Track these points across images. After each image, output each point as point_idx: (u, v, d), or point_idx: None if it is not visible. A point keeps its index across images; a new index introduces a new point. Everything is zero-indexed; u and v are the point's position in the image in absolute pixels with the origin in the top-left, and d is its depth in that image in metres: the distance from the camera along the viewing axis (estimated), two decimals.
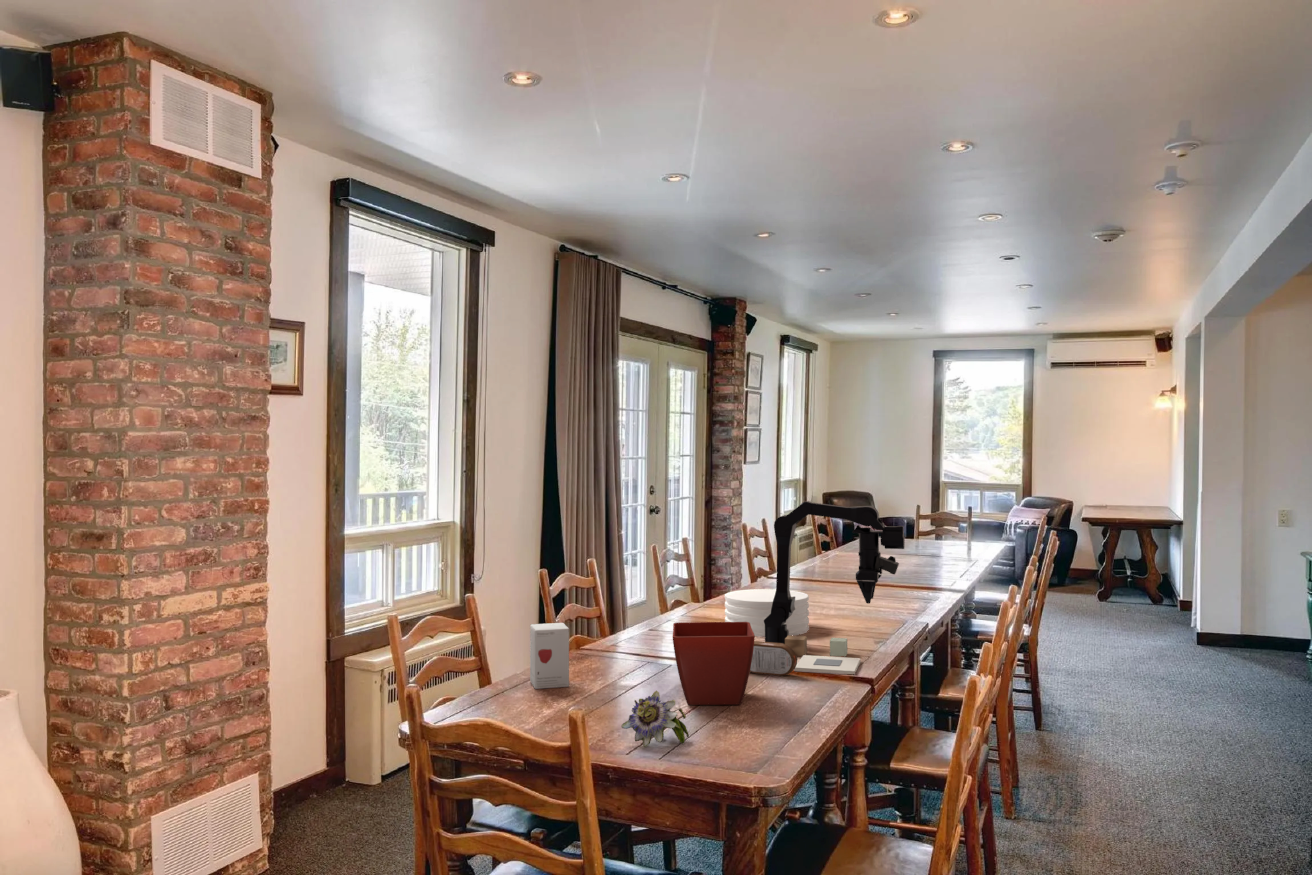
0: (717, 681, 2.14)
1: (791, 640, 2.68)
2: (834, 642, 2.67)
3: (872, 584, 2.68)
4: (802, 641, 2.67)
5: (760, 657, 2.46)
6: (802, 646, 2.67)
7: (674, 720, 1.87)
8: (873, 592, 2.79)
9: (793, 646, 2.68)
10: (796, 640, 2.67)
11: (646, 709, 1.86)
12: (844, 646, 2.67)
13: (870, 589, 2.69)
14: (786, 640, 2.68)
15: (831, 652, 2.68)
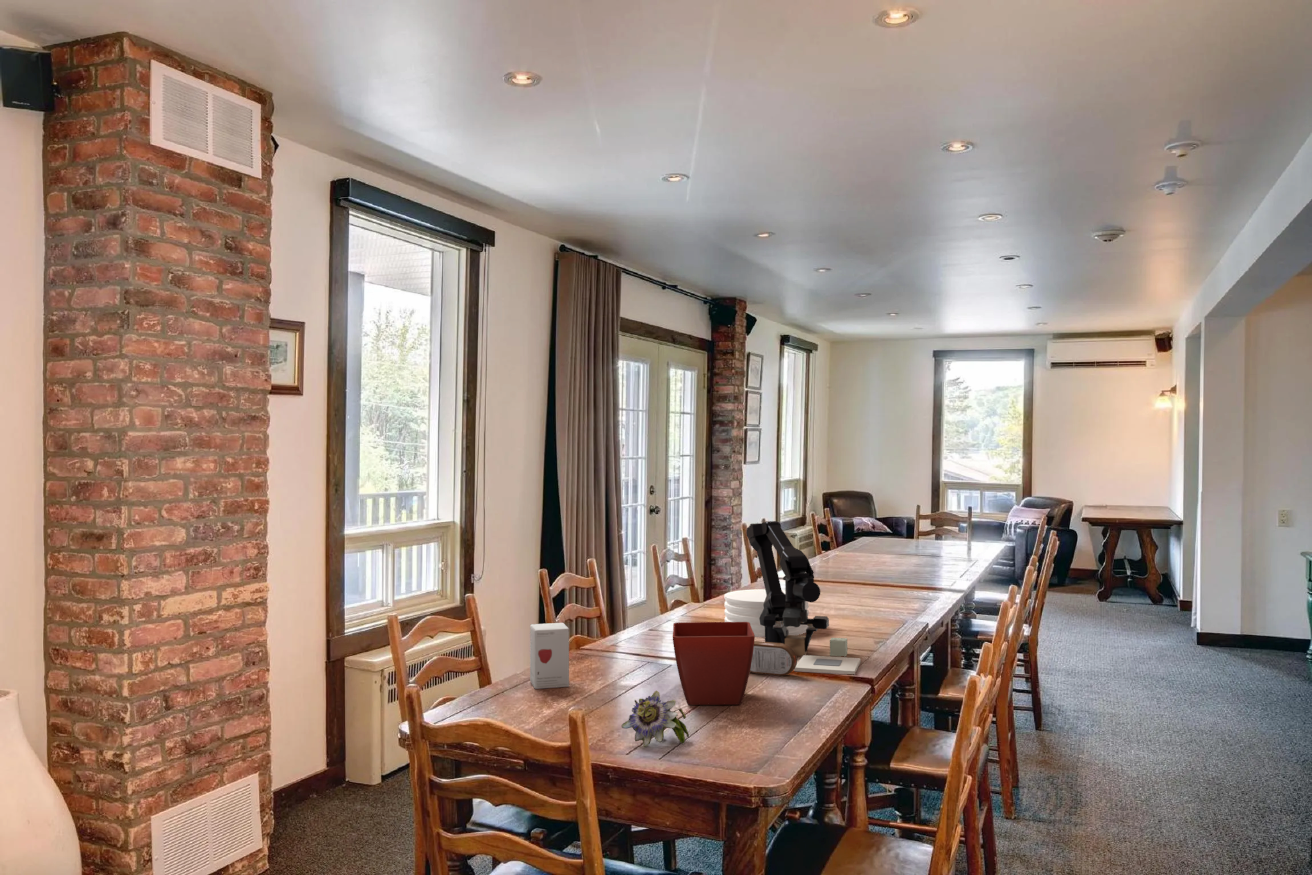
0: (717, 681, 2.14)
1: (791, 640, 2.68)
2: (834, 642, 2.68)
3: None
4: (802, 641, 2.67)
5: (760, 657, 2.46)
6: (802, 646, 2.67)
7: (674, 720, 1.87)
8: None
9: (793, 645, 2.68)
10: (796, 640, 2.67)
11: (646, 709, 1.86)
12: (844, 646, 2.67)
13: None
14: (786, 640, 2.68)
15: (831, 652, 2.68)
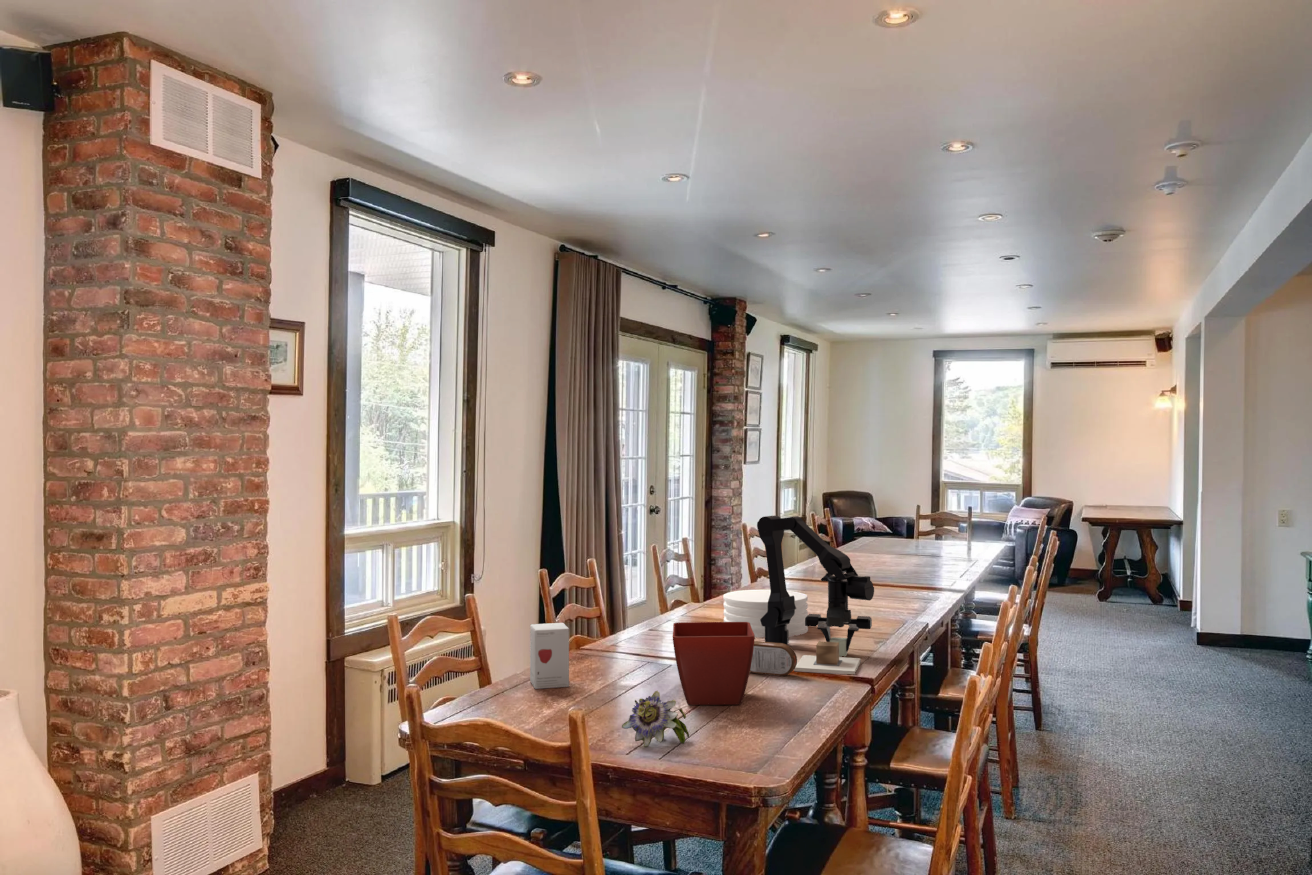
0: (717, 681, 2.14)
1: (823, 646, 2.52)
2: None
3: None
4: (835, 647, 2.51)
5: (760, 657, 2.46)
6: (835, 653, 2.51)
7: (674, 720, 1.87)
8: (846, 645, 2.68)
9: (825, 653, 2.52)
10: (828, 646, 2.52)
11: (646, 709, 1.86)
12: (844, 646, 2.67)
13: None
14: (817, 646, 2.53)
15: None
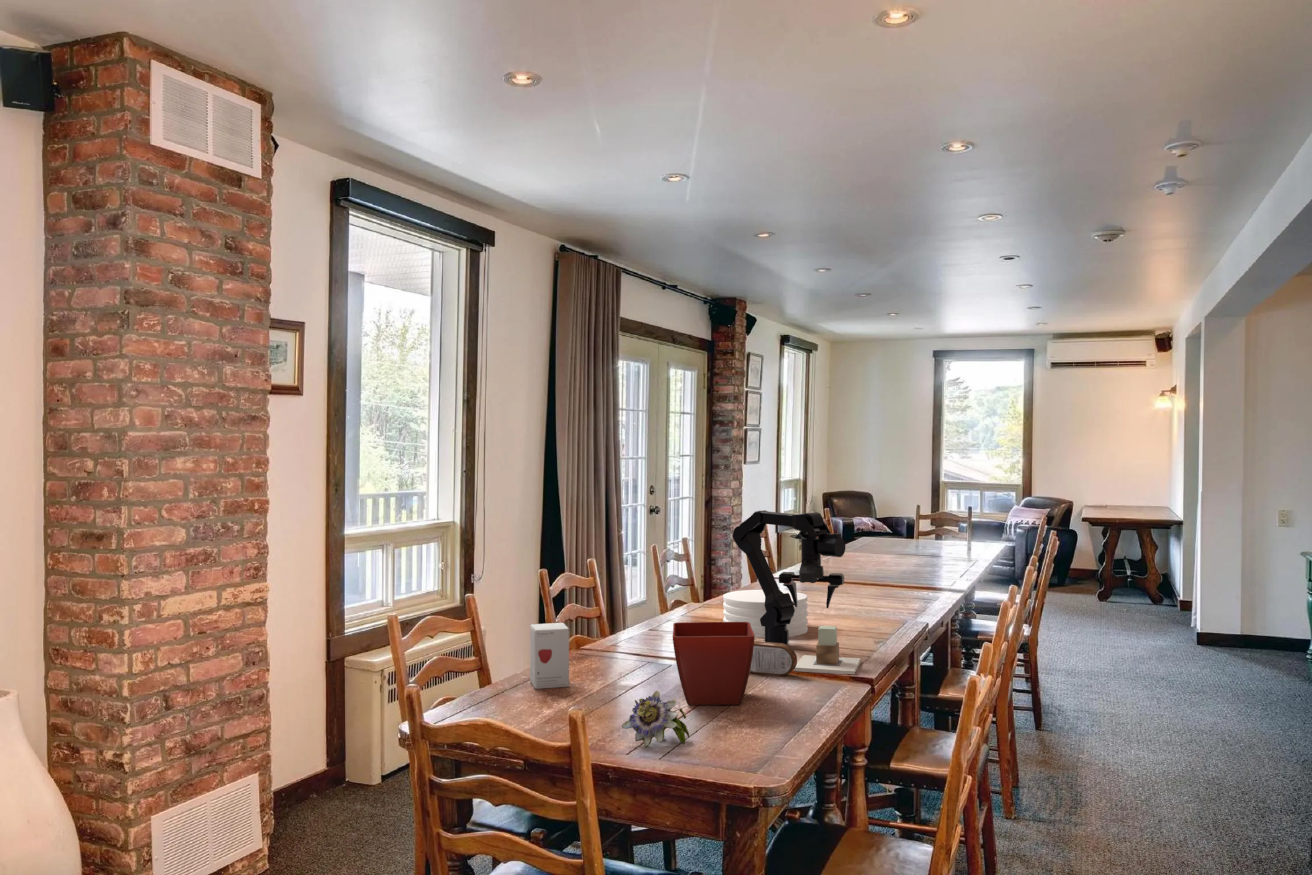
0: (717, 681, 2.14)
1: (823, 646, 2.52)
2: (823, 630, 2.53)
3: None
4: (835, 647, 2.51)
5: (760, 657, 2.46)
6: (835, 653, 2.51)
7: (675, 720, 1.87)
8: (826, 602, 2.72)
9: (825, 653, 2.52)
10: (828, 646, 2.52)
11: (647, 709, 1.86)
12: (833, 634, 2.52)
13: None
14: (817, 646, 2.53)
15: (820, 641, 2.53)
